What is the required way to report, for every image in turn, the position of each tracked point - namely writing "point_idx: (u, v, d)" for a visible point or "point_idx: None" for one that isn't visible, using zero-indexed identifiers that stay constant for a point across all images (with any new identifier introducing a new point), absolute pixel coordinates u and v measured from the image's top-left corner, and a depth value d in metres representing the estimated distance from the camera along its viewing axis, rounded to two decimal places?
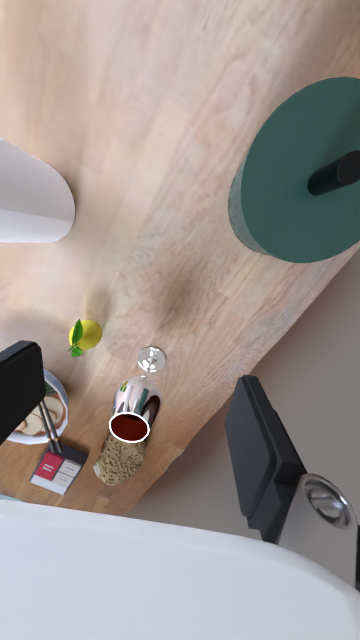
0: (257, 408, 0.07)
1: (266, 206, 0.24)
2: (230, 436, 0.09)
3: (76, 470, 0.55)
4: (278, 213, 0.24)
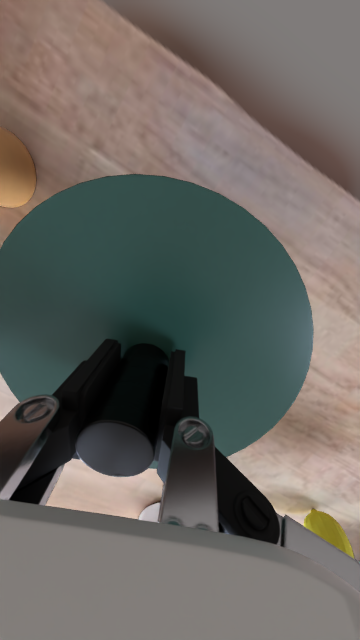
0: (171, 372, 0.08)
1: None
2: None
3: None
4: None
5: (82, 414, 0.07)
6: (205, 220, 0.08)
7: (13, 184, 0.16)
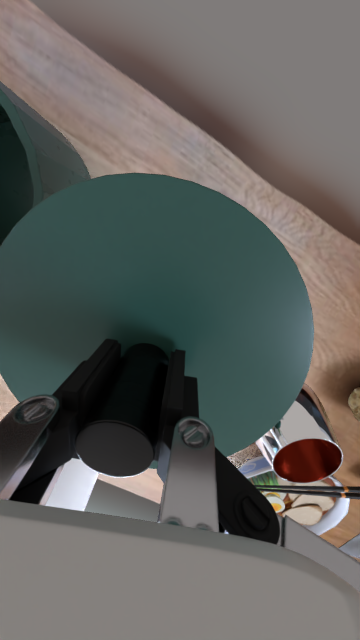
0: (171, 372, 0.08)
1: None
2: None
3: None
4: None
5: (82, 414, 0.07)
6: (205, 219, 0.08)
7: None
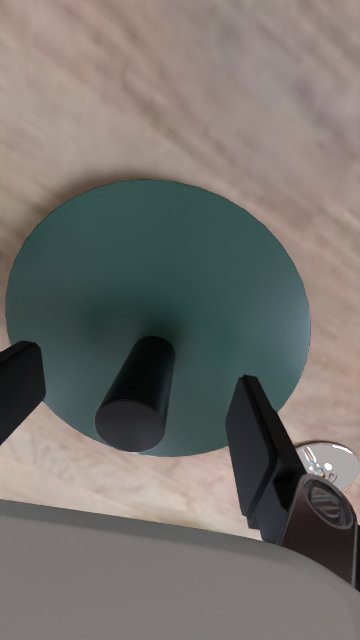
0: (257, 408, 0.07)
1: (190, 426, 0.14)
2: (230, 436, 0.09)
3: None
4: (202, 409, 0.13)
5: None
6: (210, 221, 0.09)
7: None
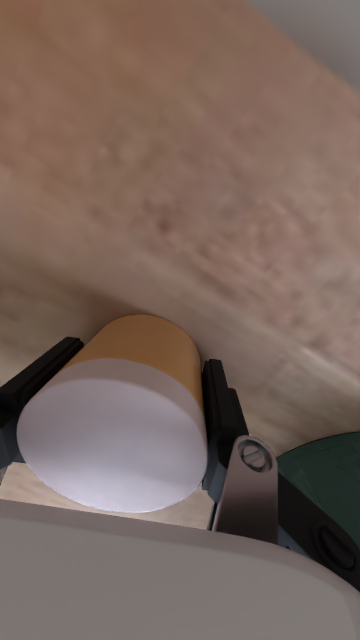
0: (213, 385, 0.08)
1: None
2: None
3: None
4: None
5: None
6: None
7: None
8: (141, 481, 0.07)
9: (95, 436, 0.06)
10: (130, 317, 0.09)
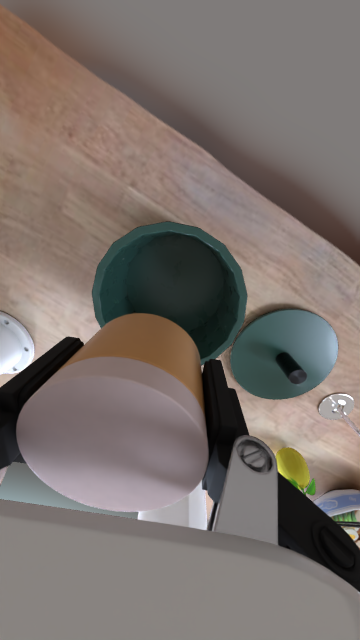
0: (213, 385, 0.08)
1: (290, 385, 0.36)
2: None
3: None
4: None
5: None
6: (310, 320, 0.31)
7: None
8: (141, 480, 0.07)
9: (95, 434, 0.06)
10: (130, 316, 0.09)
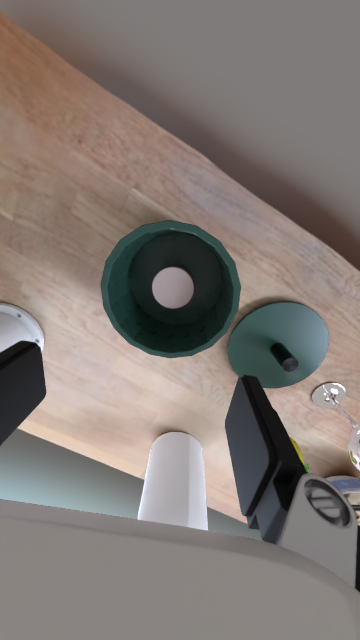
0: (257, 408, 0.07)
1: (284, 375, 0.38)
2: (230, 436, 0.09)
3: None
4: None
5: None
6: (302, 312, 0.34)
7: None
8: (178, 296, 0.29)
9: (169, 282, 0.28)
10: (172, 264, 0.32)
